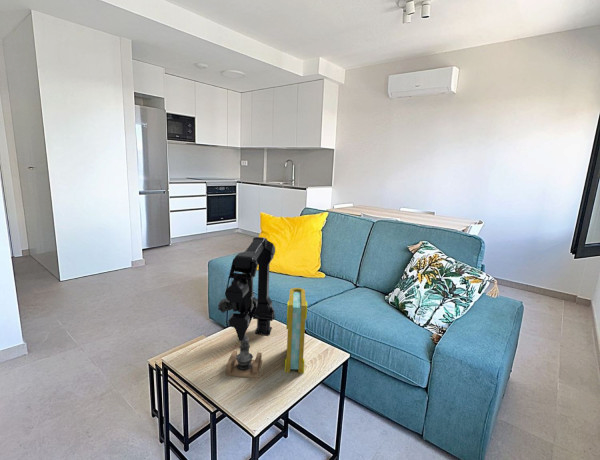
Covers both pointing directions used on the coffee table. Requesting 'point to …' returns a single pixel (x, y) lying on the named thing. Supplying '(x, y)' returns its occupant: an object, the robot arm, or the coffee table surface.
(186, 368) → the coffee table surface
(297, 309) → the book
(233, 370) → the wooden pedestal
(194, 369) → the coffee table surface
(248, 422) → the coffee table surface
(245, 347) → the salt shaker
